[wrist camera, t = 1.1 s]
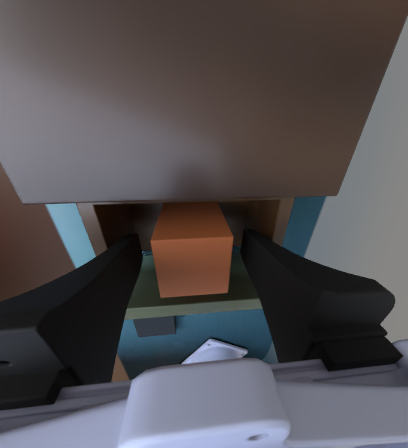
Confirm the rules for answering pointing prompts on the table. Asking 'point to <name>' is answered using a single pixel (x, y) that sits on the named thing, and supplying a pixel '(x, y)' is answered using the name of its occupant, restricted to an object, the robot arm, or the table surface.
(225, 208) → the drawer
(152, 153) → the cabinet
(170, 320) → the coaster
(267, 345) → the table surface
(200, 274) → the block
